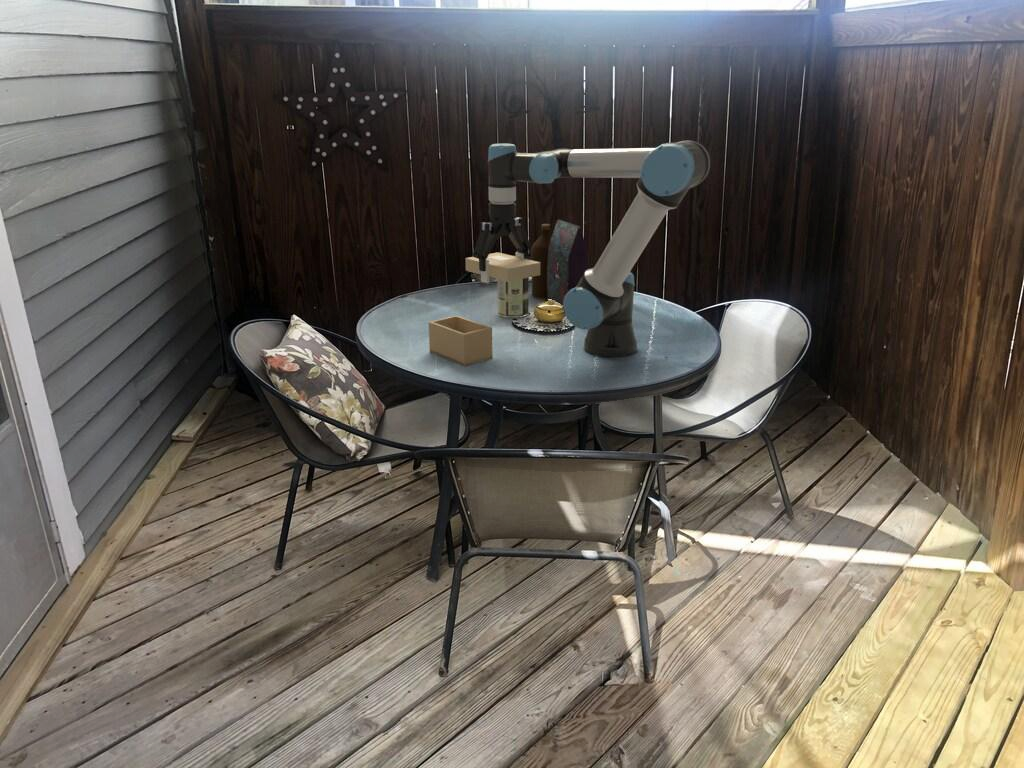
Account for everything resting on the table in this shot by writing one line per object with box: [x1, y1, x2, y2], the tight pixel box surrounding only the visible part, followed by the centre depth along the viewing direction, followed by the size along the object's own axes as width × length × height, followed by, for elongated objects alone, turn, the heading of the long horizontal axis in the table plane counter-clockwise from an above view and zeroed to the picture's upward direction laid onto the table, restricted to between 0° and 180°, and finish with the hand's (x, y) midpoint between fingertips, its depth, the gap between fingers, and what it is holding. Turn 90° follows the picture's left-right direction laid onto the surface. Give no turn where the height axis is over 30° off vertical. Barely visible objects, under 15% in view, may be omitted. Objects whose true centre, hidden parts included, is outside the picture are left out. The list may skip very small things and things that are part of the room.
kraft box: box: [428, 315, 493, 367], centre depth 236 cm, size 16×10×9 cm, turn 41°
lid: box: [465, 252, 540, 282], centre depth 237 cm, size 18×12×4 cm
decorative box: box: [546, 219, 590, 305], centre depth 282 cm, size 8×16×28 cm, turn 24°
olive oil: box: [530, 223, 552, 299], centre depth 296 cm, size 11×11×25 cm
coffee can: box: [497, 277, 530, 319], centre depth 274 cm, size 10×10×14 cm
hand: (502, 278), depth 239 cm, fingers closed on lid, 12 cm apart
